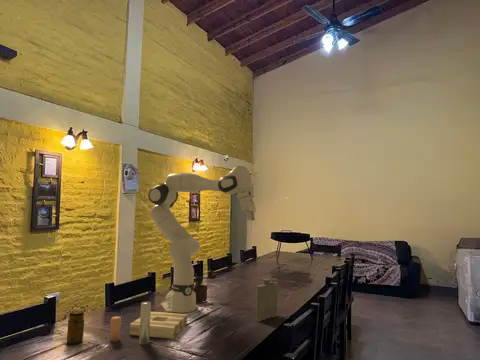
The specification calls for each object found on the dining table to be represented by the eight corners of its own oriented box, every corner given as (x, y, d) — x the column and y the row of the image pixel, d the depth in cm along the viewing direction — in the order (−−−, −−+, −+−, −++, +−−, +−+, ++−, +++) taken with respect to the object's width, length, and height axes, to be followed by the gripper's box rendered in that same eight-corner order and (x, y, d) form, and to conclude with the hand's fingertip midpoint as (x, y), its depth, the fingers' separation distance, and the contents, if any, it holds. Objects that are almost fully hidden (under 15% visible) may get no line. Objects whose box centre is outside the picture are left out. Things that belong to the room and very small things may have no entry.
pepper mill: (195, 304, 206) (196, 273, 208) (182, 301, 213) (184, 270, 215) (214, 300, 218) (215, 270, 219) (202, 296, 225) (203, 268, 226)
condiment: (79, 337, 150) (81, 308, 151) (88, 343, 144) (90, 313, 145) (61, 342, 145) (64, 312, 146) (70, 348, 139) (72, 316, 140)
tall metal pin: (137, 342, 147) (139, 302, 148) (146, 340, 149) (148, 301, 151) (141, 345, 144) (143, 304, 145) (150, 343, 146) (152, 303, 147)
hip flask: (259, 322, 177) (260, 281, 179) (253, 320, 180) (254, 280, 181) (278, 316, 189) (278, 278, 190) (272, 314, 192) (272, 276, 193)
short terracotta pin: (108, 339, 149) (109, 317, 150) (118, 337, 151) (119, 315, 152) (111, 342, 146) (112, 319, 147) (121, 340, 148) (122, 318, 149)
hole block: (148, 320, 175) (148, 311, 175) (187, 323, 172) (187, 314, 172) (129, 334, 155) (130, 324, 156) (173, 338, 152) (173, 327, 152)
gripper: (244, 198, 201) (249, 222, 199) (235, 194, 181) (241, 221, 179) (255, 195, 200) (260, 219, 197) (247, 192, 180) (253, 218, 178)
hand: (251, 220), depth 188 cm, fingers open, 8 cm apart
